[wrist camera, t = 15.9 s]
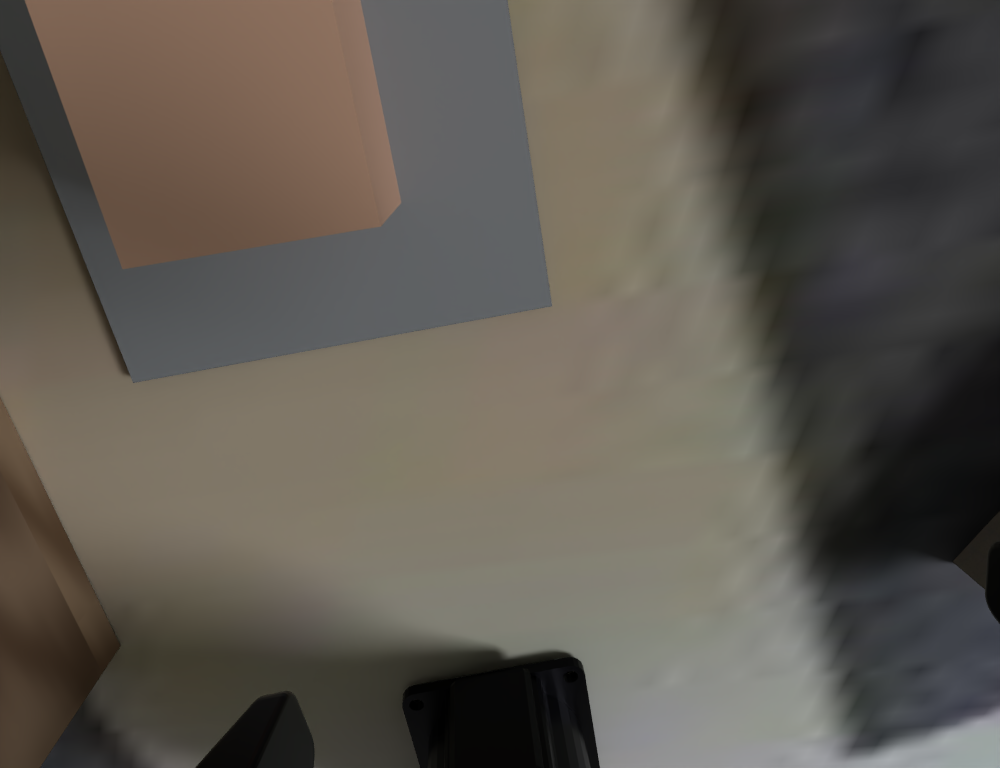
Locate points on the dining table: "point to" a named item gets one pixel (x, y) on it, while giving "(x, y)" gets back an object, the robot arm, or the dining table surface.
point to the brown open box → (41, 615)
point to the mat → (345, 256)
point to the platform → (979, 552)
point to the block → (221, 120)
